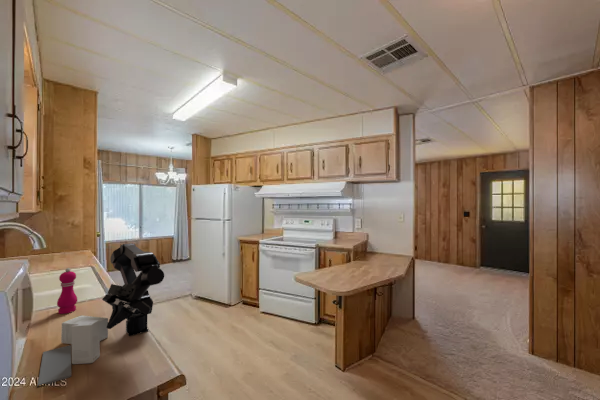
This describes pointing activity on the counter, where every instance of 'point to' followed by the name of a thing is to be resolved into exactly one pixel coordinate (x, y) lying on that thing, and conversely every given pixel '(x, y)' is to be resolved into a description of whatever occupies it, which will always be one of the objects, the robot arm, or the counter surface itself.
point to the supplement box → (67, 325)
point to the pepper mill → (67, 293)
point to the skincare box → (85, 342)
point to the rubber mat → (55, 365)
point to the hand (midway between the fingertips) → (108, 328)
